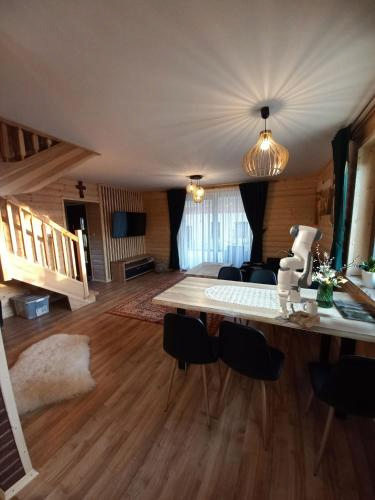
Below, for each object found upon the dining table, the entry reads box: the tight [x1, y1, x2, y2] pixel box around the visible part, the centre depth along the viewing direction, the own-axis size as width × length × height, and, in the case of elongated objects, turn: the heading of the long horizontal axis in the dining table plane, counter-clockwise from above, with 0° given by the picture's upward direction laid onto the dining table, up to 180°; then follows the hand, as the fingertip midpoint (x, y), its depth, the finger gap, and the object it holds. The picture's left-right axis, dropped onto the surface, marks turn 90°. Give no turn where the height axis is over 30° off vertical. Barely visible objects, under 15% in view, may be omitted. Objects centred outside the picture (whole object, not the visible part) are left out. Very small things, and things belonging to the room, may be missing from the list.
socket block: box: [287, 310, 321, 329], centre depth 140 cm, size 14×14×5 cm
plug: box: [278, 305, 290, 319], centre depth 143 cm, size 6×6×9 cm
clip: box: [289, 302, 297, 315], centre depth 145 cm, size 15×3×3 cm, turn 161°
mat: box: [273, 314, 291, 324], centre depth 144 cm, size 8×8×1 cm
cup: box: [302, 300, 319, 316], centre depth 153 cm, size 7×10×9 cm
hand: (283, 309), depth 143 cm, fingers closed on plug, 4 cm apart
